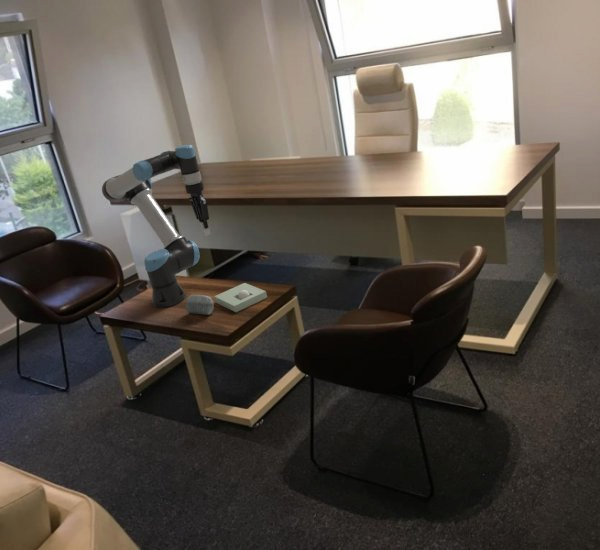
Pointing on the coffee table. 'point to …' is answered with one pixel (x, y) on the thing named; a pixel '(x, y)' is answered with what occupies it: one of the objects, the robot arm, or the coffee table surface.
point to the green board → (232, 300)
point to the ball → (243, 294)
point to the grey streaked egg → (199, 304)
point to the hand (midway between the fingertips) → (207, 235)
